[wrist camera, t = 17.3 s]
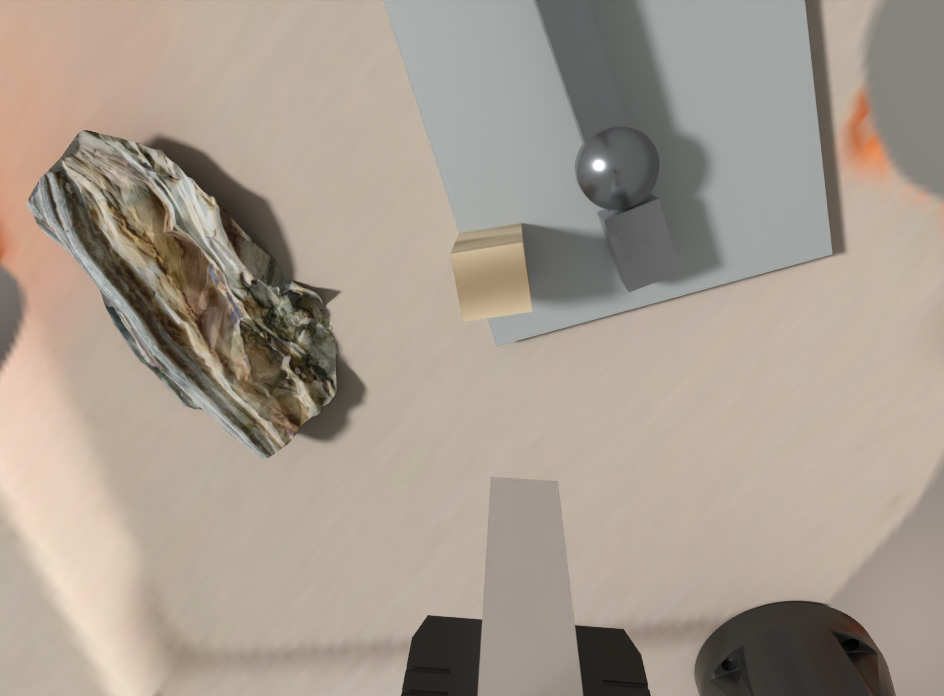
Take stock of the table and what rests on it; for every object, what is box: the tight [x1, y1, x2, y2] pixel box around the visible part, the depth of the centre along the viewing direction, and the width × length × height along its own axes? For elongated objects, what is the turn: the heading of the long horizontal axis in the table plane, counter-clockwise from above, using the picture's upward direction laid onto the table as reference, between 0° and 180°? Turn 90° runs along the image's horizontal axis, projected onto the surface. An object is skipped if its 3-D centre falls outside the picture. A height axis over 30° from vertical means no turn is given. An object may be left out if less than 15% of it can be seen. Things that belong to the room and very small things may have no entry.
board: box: [383, 0, 832, 346], centre depth 36 cm, size 24×22×2 cm
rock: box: [26, 130, 337, 459], centre depth 40 cm, size 23×7×15 cm
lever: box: [533, 0, 682, 292], centre depth 28 cm, size 22×4×13 cm, turn 23°
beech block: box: [450, 223, 533, 322], centre depth 36 cm, size 4×4×6 cm
